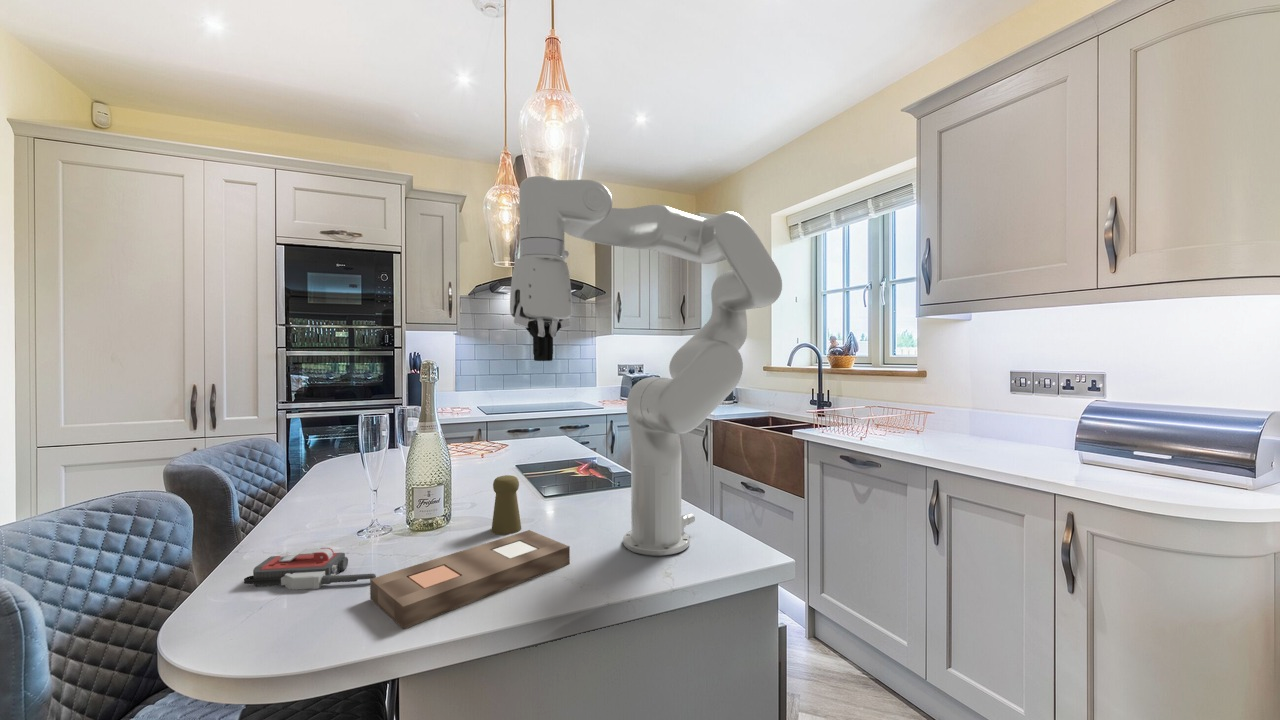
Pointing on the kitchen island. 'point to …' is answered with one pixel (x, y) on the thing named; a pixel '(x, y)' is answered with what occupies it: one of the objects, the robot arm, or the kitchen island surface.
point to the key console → (465, 578)
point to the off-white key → (514, 549)
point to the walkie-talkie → (303, 570)
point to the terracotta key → (433, 577)
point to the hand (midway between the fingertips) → (543, 360)
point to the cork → (506, 506)
